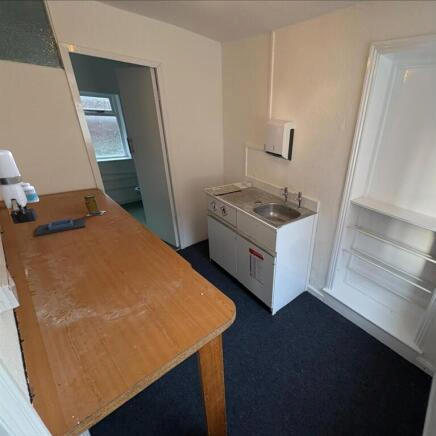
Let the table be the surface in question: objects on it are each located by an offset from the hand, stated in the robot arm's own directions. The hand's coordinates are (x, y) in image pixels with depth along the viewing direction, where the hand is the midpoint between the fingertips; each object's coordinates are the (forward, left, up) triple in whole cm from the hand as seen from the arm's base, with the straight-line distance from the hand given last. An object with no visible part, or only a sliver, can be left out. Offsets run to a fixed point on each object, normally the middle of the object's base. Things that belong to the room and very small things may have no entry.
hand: (25, 219), depth 104 cm
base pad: (+7, +26, -16) cm, 31 cm away
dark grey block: (0, 0, 0) cm, 0 cm away
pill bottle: (-11, +89, -16) cm, 91 cm away
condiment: (+23, +40, -16) cm, 49 cm away
